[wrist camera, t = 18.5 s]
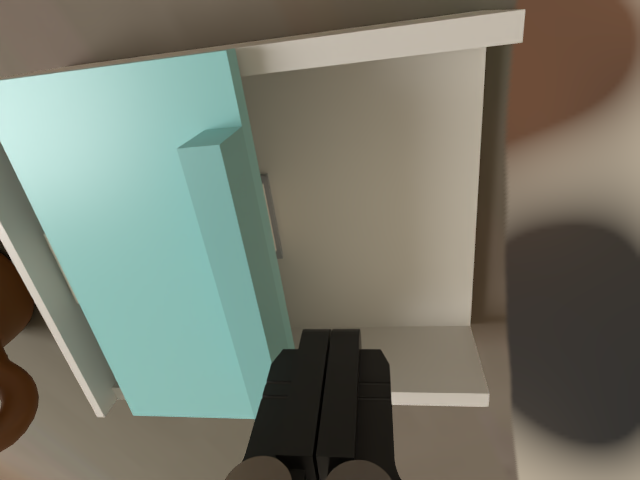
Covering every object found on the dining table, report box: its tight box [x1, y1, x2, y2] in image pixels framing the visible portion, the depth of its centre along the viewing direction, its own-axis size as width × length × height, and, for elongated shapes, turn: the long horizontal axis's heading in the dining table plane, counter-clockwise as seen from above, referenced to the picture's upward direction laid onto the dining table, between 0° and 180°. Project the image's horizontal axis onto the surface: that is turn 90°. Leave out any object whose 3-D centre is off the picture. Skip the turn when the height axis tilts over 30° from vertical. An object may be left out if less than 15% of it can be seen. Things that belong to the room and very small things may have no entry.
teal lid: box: [0, 48, 295, 419], centre depth 15 cm, size 8×15×3 cm, turn 6°
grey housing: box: [0, 9, 525, 417], centre depth 18 cm, size 18×15×6 cm
